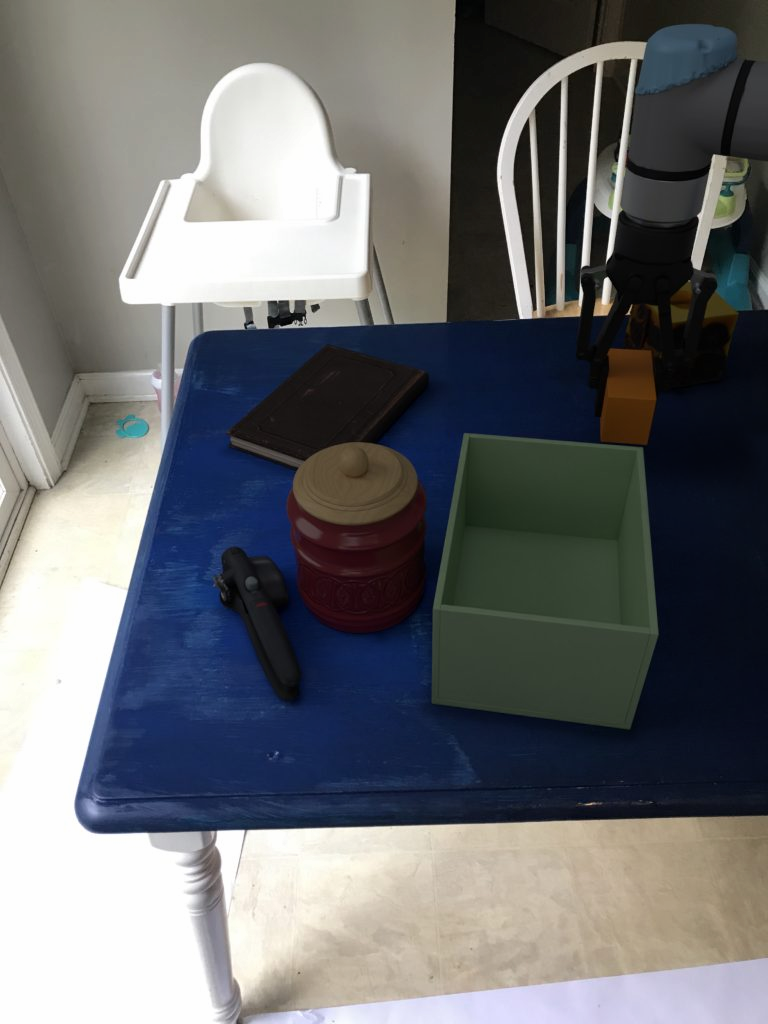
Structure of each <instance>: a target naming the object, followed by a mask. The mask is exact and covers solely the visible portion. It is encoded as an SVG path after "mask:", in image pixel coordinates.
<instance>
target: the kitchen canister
mask: <svg viewBox="0 0 768 1024" xmlns="http://www.w3.org/2000/svg"><path fill="white" fill-rule="evenodd" d="M427 505H428V496H427V492H426V488H425V487H424V485H423V483H422V481H421V480H420V479H419V477H418V473H417V471H416V469H415V467H414V465H413V464H412V462H411V461H410V460H409V459H408V458H407V457H406V456H405V455H403V454H402V453H400V452H399V451H397V450H395V449H393V448H391V447H388V446H385V445H381V444H378V443H374V444H372V443H362V442H352V443H344V444H340V445H335V446H332V447H329V448H326V449H323V450H321V451H319V452H317V453H315V454H314V455H312V456H311V457H309V458H308V459H307V460H306V461H305V462H304V463H303V464H302V465H301V466H300V467H299V469H298V470H296V472H295V474H294V477H293V481H292V486H291V488H290V490H289V491H288V495H287V498H286V505H285V506H286V515H287V519H288V521H289V522H290V529H289V531H290V533H289V537H290V541H291V545H292V548H293V550H294V556H295V563H296V583H297V590H298V594H299V595H300V598H301V600H302V601H303V605H304V606H305V608H306V609H307V611H308V612H309V614H310V615H311V616H313V617H314V619H315V620H317V621H319V622H320V623H321V624H323V625H324V626H327V627H328V628H331V629H334V630H337V631H340V632H345V633H352V634H368V633H375V632H379V631H383V630H387V629H388V628H391V627H394V626H396V625H397V624H398V625H399V623H401V622H402V621H403V620H405V619H406V618H408V617H409V616H410V615H412V613H413V612H414V611H415V610H416V608H417V607H418V606H419V604H420V602H421V600H422V597H423V594H424V591H425V588H426V583H427V564H426V561H425V559H426V558H425V557H426V556H425V555H426V551H425V550H426V548H425V547H426V546H425V545H426V535H427V527H428V526H427V520H426V516H425V513H426V510H427V507H428V506H427Z"/></svg>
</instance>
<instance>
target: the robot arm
mask: <svg viewBox="0 0 768 1024" xmlns="http://www.w3.org/2000/svg"><path fill="white" fill-rule="evenodd" d="M737 47H738V37H737V35H736V33H735V32H734V31H732V30H731V29H729V28H726V27H723V26H714V25H713V24H703V23H684V24H676V25H670V26H666V27H663V28H661V29H658V30H657V31H656V32H654V33H653V34H652V35H651V36H650V37H649V38H648V40H647V42H646V44H645V48H644V53H643V57H642V63H641V68H640V73H639V78H638V82H637V86H636V87H635V89H634V90H635V91H634V94H635V96H634V97H635V98H634V106H633V107H634V108H633V115H632V121H631V128H630V129H631V131H630V137H629V145H628V153H627V156H626V165H625V171H624V177H623V184H622V190H621V197H620V204H619V207H620V208H621V210H620V211H619V213H618V216H617V223H616V228H615V229H616V230H615V236H614V242H613V243H614V244H613V249H612V253H611V255H610V256H609V258H607V260H606V262H605V264H603V265H599V266H596V267H592V266H591V265H587V264H586V265H583V266H582V267H581V268H580V272H579V273H580V275H579V276H580V277H579V278H580V279H579V280H580V281H579V283H580V287H581V291H582V300H581V307H580V315H579V320H578V327H577V334H576V342H575V358H576V359H577V360H578V361H587V362H589V369H588V378H587V381H588V383H587V384H588V388H589V389H594V390H596V392H595V398H594V406H593V407H594V418H600V417H601V415H602V408H603V402H604V396H605V390H606V383H607V378H608V373H609V355H607V354H608V352H609V350H610V349H611V348H612V345H613V343H614V341H615V339H616V336H617V334H618V332H619V330H620V328H621V326H622V324H623V322H624V320H625V318H626V315H628V313H630V311H631V308H632V305H638V304H643V303H645V304H648V305H652V306H658V315H659V326H660V336H661V346H662V356H663V357H662V358H654V363H653V376H654V382H655V391H656V405H655V409H654V414H653V419H652V422H653V421H654V417H655V412H656V409H657V405H658V404H657V403H658V399H659V394H661V393H663V394H667V393H668V392H669V391H670V384H671V380H672V376H673V373H674V372H675V371H676V367H677V366H680V365H685V366H690V365H692V364H693V363H694V361H695V356H696V352H697V347H698V343H699V338H700V334H701V329H702V325H703V320H704V316H705V311H706V307H707V303H708V301H709V300H710V298H711V296H712V295H713V293H714V292H716V291H717V289H718V281H717V277H716V276H717V275H716V273H715V271H714V270H712V269H707V270H705V271H704V270H701V269H698V268H695V267H694V264H693V261H692V257H693V252H694V247H695V243H696V239H697V238H696V237H697V233H698V229H699V224H700V218H699V216H698V215H699V214H701V213H702V210H703V206H704V201H705V197H706V191H707V185H708V182H709V176H710V172H711V171H710V170H711V168H712V163H713V157H714V155H715V156H722V157H727V158H737V159H745V160H751V161H752V160H753V161H760V162H768V61H760V60H759V61H758V60H752V59H747V58H741V57H738V55H739V52H738V50H737ZM607 278H608V280H609V282H610V283H611V284H612V286H613V287H614V289H615V291H616V292H615V295H614V299H613V302H612V304H611V306H610V308H609V311H608V313H607V315H606V317H605V320H604V322H603V324H602V326H601V328H600V331H599V333H598V335H597V337H596V339H595V342H594V344H590V341H591V335H592V327H593V322H594V315H595V308H596V303H597V302H596V301H597V295H596V294H597V291H599V290H600V289H601V288H602V287H603V283H604V280H605V279H607ZM688 281H691V291H692V292H693V293H692V297H691V302H690V307H689V311H688V316H687V321H686V326H685V331H684V335H683V340H682V345H681V349H676V350H674V340H673V328H672V317H671V303H670V298H671V297H672V296H673V295H674V294H675V293H676V292H677V291H678V290H679V289H681V288H682V287H683V286H684V285H685V284H686V283H687V282H688Z"/></svg>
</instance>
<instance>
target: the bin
mask: <svg viewBox="0 0 768 1024" xmlns="http://www.w3.org/2000/svg"><path fill="white" fill-rule="evenodd" d="M650 525H651V524H650V516H649V503H648V490H647V479H646V467H645V454H644V447H642V446H631V445H630V446H629V445H619V444H618V445H616V444H606V443H605V444H604V443H593V442H583V441H582V442H580V441H568V440H555V439H543V438H532V437H531V438H530V437H521V436H520V437H519V436H506V435H494V434H481V433H471V432H470V433H468V432H464V433H463V436H462V442H461V447H460V454H459V459H458V464H457V470H456V476H455V480H454V487H453V493H452V498H451V503H450V509H449V515H448V521H447V527H446V532H445V538H444V543H443V550H442V554H441V560H440V566H439V571H438V576H437V577H438V578H437V583H436V588H435V594H434V600H433V606H432V639H431V640H432V644H431V645H432V646H431V647H432V648H431V655H432V656H431V704H433V705H441V706H448V707H456V708H463V709H464V708H465V709H469V710H478V711H486V712H494V713H501V714H508V715H517V716H524V717H530V718H531V717H532V718H540V719H546V720H555V721H562V722H570V723H577V724H585V725H592V726H601V727H608V728H615V729H622V730H631V728H632V725H633V721H634V718H635V715H636V711H637V708H638V704H639V701H640V698H641V695H642V691H643V688H644V684H645V681H646V678H647V675H648V671H649V668H650V664H651V662H652V658H653V654H654V651H655V648H656V645H657V641H658V638H659V636H660V635H659V634H660V633H659V625H658V624H659V622H658V609H657V600H656V586H655V575H654V561H653V550H652V537H651V526H650Z"/></svg>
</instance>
